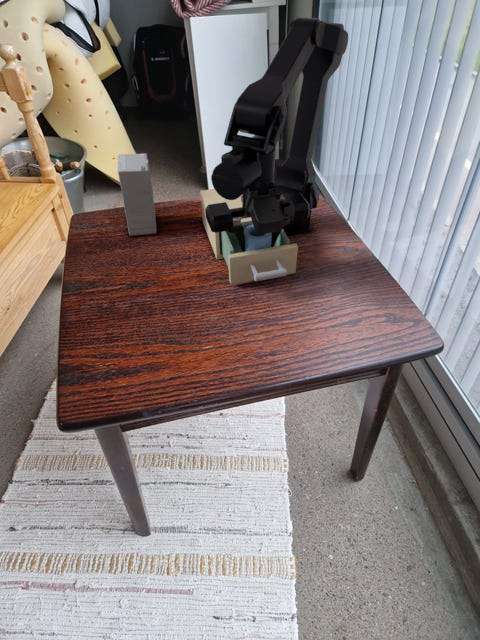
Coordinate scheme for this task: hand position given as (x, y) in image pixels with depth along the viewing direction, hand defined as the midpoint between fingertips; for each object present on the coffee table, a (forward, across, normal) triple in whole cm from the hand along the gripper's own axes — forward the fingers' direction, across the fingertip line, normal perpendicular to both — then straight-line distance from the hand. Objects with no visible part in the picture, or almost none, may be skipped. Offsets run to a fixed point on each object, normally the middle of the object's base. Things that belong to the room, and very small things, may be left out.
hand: (257, 249), depth 84 cm
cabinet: (+5, 0, +13) cm, 14 cm away
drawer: (+4, 0, 0) cm, 4 cm away
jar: (+1, 0, 0) cm, 1 cm away
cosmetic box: (+5, -21, +23) cm, 32 cm away
